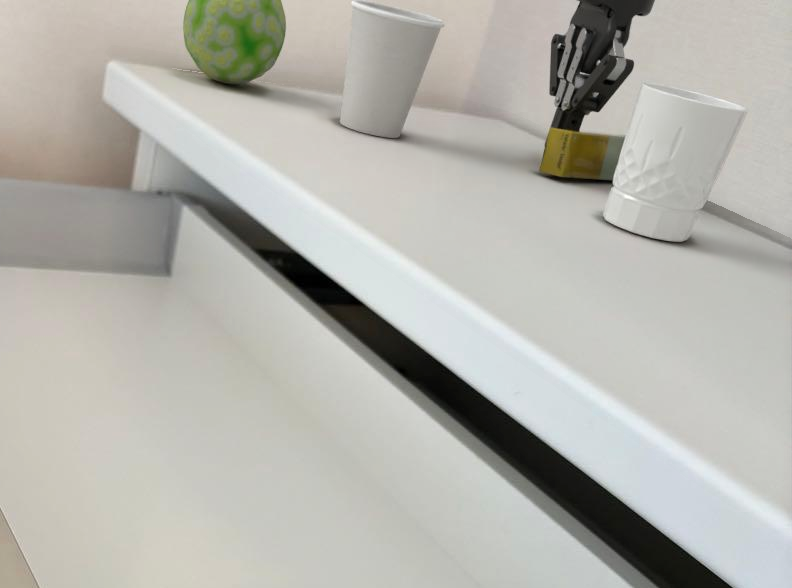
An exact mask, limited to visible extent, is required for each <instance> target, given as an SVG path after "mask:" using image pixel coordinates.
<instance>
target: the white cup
mask: <svg viewBox="0 0 792 588" xmlns="http://www.w3.org/2000/svg"><path fill="white" fill-rule="evenodd" d="M748 112H749V109H748V108H746V107H745V106H744V105H743V106H742V105H740V104H737V103H734V102H732V101H728V100H726V99H722V98H719V97H716V96H712V95H709V94H705V93H701V92H698V91H693V90H689V89H684V88H680V87H676V86H671V85H667V84H662V83H655V82H642V83H641V86H640V89H639V92H638V95H637V97H636V101H635V105H634V107H633V111H632V115H631V118H630V121H629V124H628V127H627V130H626V134H625V135H626V136H625V140H624V143H623V146H622V149H621V152H620V156H619V161H618V164H617V167H616V170H615V173H614V177H613V180H612V185H613V186H611V189H610V190H609V193H608V197H607V199H606V203H605V206H604V209H603V213H602V216H603V217H604V220H605V221H607V222H608V223H610V224H612V225H613V226H615V227H617V228H620V229H622V230H625V231H627V232H630V233H633V234H637V235H639V236H643V237H647V238H650V239H656V240H661V241H666V242H674V243H682V242H684V241H687V240H689V238H690V236H691V233H692V232H693V230H694V226H695V225H696V222H697V220H698V218H699V215H700V213H701V211H700V210H701V209H702V208H703V207H704V206H705V204H706V203H707V201H708V200H709V197H710V195H711V192H712V189H713V188H714V185H715V184H716V182H717V180H718V178H719V177H720V174H721V172H722V170H723V168H724V166H725V163H726V161H727V158H728V157H729V155H730V152H731V150H732V148H733V146H734V143H735V141H736V139H737V137H738V134H739V133H740V131H741V128H742V126H743V124H744V121H745V119H746V117H747V115H748Z"/></svg>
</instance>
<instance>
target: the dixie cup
mask: <svg viewBox="0 0 792 588" xmlns="http://www.w3.org/2000/svg"><path fill="white" fill-rule="evenodd" d="M350 5H351V7H352V13H351V20H350V21H351V22H350V30H349V38H348V39H349V40H348V47H347V55H346V56H347V57H346V64H345V65H346V66H345V74H344V84H343V90H342V91H343V92H342V101H341V108H340V109H341V110H340V118H339V124H340V125H342V126H343V127H346V128H348V129H351V130H353V131H356V132H360V133H363V134H366V135H372V136H376V137H382V138H388V139H389V138H390V139H391V138H392V139H395V138H396V139H397V138H400V136H401V134H402V131H403V129H404V125H405V123H406V121H407V118H408V115H409V113H410V111H411V107H412V105H413V103H414V100H415V97H416V94H417V92H418V89H419V87H420V83H421V82H422V79H423V76H424V74H425V71H426V69H427V66H428V63H429V60H430V58H431V55H432V53H433V50H434V48H435V45H436V42H437V39H438V37H439V35H440V32H441V29H442V28H444V27H445V22H444V20H442V19H440V18H438V17H436V16H435V17H434V16H432V15H430V14H425V13H421V12H418V11H415V10H411V9H406V8H403V7H400V6H399V7H398V6H394V5H389V4H385V3H381V2H374V1H369V0H352V1H351V3H350Z"/></svg>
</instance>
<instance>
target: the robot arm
mask: <svg viewBox="0 0 792 588" xmlns="http://www.w3.org/2000/svg"><path fill="white" fill-rule="evenodd" d="M576 1H578V2H579V3H578V5H577V7H576V9H575V11H574V13H573V15H572V16H571V19H570V21H569V26H568V28H567V31H566V32H565V33H564V34H559V33H554V35H553V36H552V38H551V41H550V64H549V87H548V89H549V91H548V92H549V93H548V94H549V96H551V97H555V98H554V103H553V104H554V107H555V108H556V109H555V112H554V114H553V118H552V121H551V124H550V127H552V128H562V129H572V130H580V129H581V127H582V124H583V121H584V118H585V116H589V115H590V113H600V112H601V111H602V109H603V108H604V106H606V104H607V103H608V102H609V101H610V99H611V98H612V97H613V96H614V94H615V93H616V92H617V91H618V90H619V88H620V87H621V86H622V84H623V83H624V82H626V80H627V78H628V77H629V76H630V75H631V74H632V72H633V70H634V68H635V67H634V66H635V61H634V59H630V58H625V49H624V48H625V47H626V45H627V43H628V42H629V39H630V34H631V28H632V27H631V26H632V22H633V18H634V17H635V16H637V17H646V16H648V15H649V14H650V13H651V12H652V10H653V7H654V4H655V1H656V0H576ZM547 137H548V135H547V136H546V138H545V141H544V145H545V144H546V140H547Z"/></svg>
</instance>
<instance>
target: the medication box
mask: <svg viewBox="0 0 792 588" xmlns="http://www.w3.org/2000/svg"><path fill="white" fill-rule="evenodd" d="M548 130H549V131H548V133H547V136H548V137H547V136H546V139H547V140H546V139H545V142H546V144H545V143H544V149H543V152H542V157H541V163H540V166H539V169H538V172H540V173H543V174H546V175H552V176H556V177H558V178H559V177H560V178H567V179H584V180H585V179H587V180H597V181H598V180H601V181H613V177H614V173H615V170H616V167H617V164H618V161H619V156H620V152H621V149H622V146H623V143H624V140H625V136H626V134H621V133H620V134H619V133H609V132H599V131H590V130H572V129H562V128H552V127H551V126H550V127H549V129H548Z"/></svg>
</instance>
